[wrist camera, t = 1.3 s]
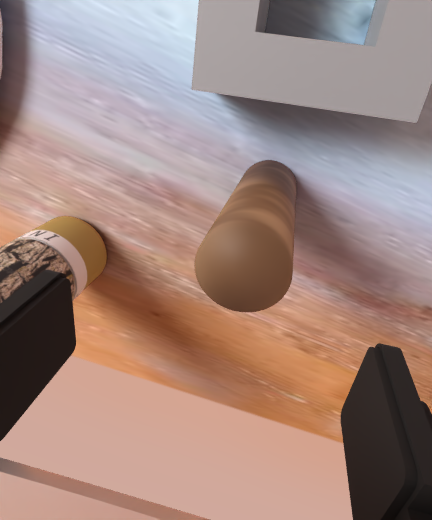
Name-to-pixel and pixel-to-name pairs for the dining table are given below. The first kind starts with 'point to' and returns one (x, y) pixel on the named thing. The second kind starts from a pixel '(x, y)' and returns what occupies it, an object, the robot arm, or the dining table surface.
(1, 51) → the plated food
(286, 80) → the socket
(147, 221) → the dining table surface
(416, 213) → the dining table surface
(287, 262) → the peg
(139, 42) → the dining table surface
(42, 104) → the dining table surface
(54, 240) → the paper tube
